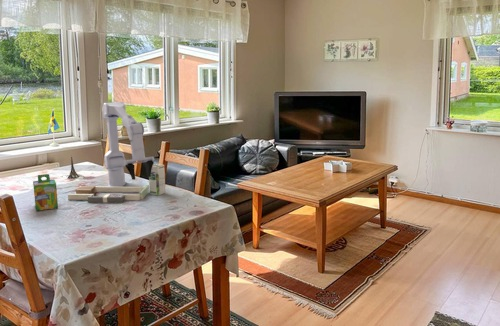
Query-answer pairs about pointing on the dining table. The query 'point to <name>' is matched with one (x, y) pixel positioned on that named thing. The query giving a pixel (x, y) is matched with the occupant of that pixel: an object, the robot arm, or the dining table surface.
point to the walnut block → (86, 190)
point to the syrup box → (157, 180)
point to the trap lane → (107, 197)
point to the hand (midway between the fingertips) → (141, 178)
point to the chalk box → (45, 193)
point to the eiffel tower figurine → (73, 172)
